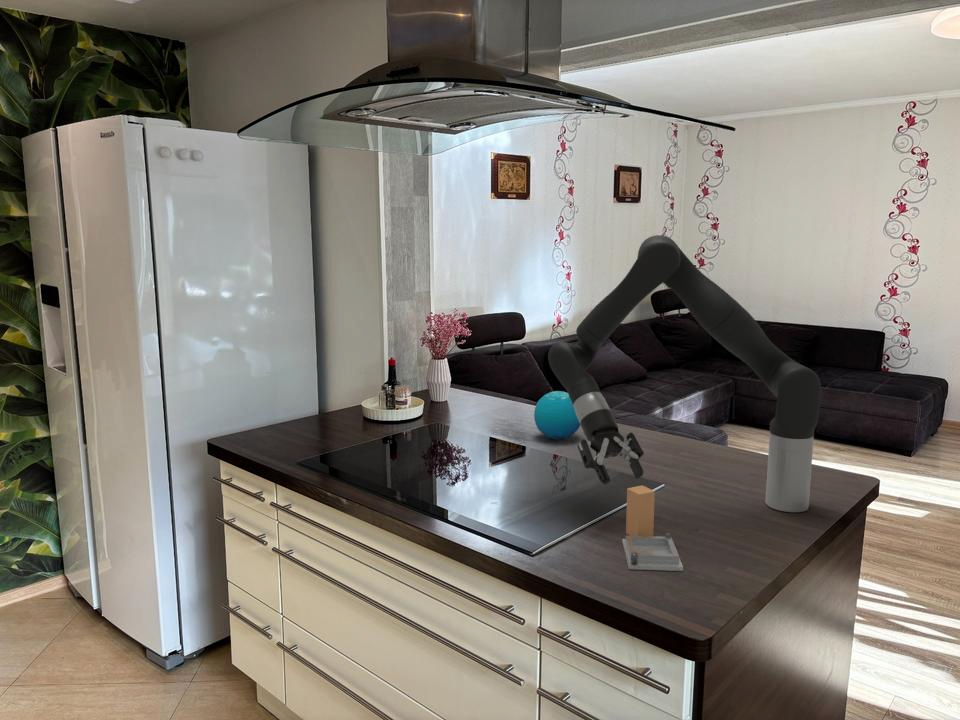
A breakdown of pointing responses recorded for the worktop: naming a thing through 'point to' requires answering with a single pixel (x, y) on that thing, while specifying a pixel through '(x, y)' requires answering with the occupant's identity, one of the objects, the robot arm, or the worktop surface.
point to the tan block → (640, 511)
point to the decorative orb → (556, 415)
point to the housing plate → (651, 553)
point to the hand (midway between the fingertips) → (623, 479)
